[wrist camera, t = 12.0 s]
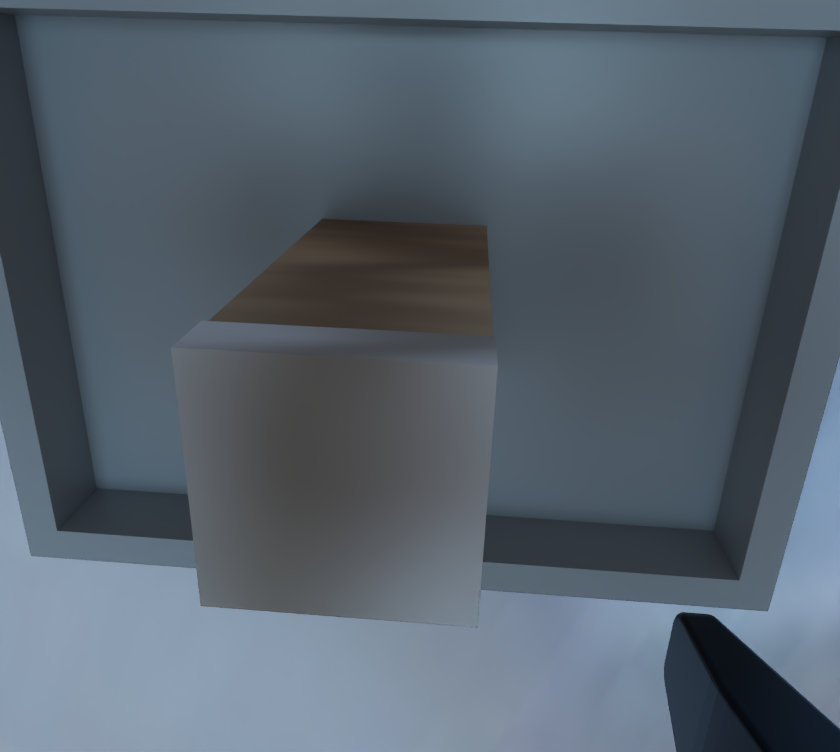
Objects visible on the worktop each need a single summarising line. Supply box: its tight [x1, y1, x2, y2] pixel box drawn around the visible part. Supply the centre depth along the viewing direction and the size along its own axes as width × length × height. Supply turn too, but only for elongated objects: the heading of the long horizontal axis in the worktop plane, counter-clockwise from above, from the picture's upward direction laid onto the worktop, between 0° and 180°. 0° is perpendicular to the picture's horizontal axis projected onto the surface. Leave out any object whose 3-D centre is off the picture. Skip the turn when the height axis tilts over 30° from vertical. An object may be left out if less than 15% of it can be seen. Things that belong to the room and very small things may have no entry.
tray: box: [0, 0, 840, 611], centre depth 19 cm, size 22×16×3 cm
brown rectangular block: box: [171, 219, 498, 628], centre depth 15 cm, size 5×5×10 cm
